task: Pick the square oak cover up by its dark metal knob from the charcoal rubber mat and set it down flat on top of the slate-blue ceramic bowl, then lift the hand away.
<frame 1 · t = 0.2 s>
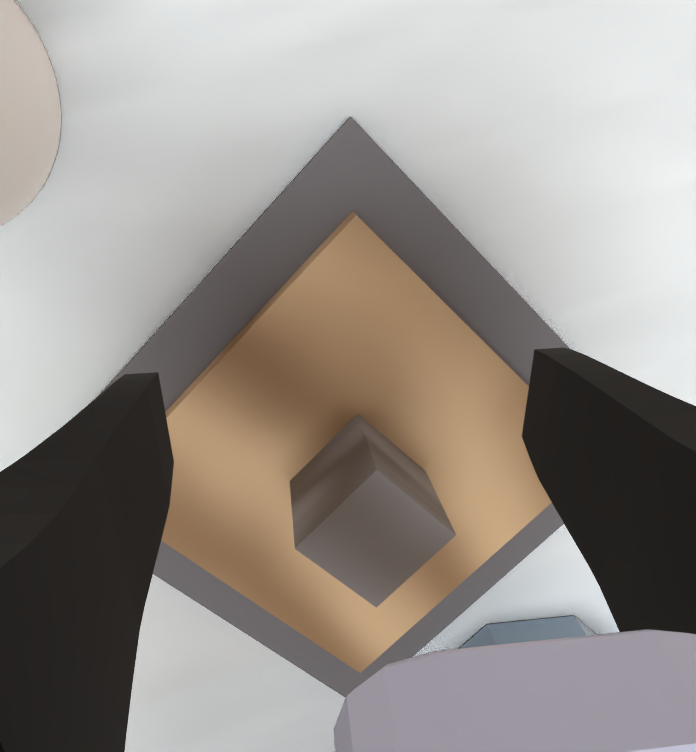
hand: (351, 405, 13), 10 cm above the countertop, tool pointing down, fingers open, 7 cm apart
bowl: (521, 702, 30), on the countertop
mat: (353, 457, 25), on the countertop
cover: (354, 462, 24), resting on mat
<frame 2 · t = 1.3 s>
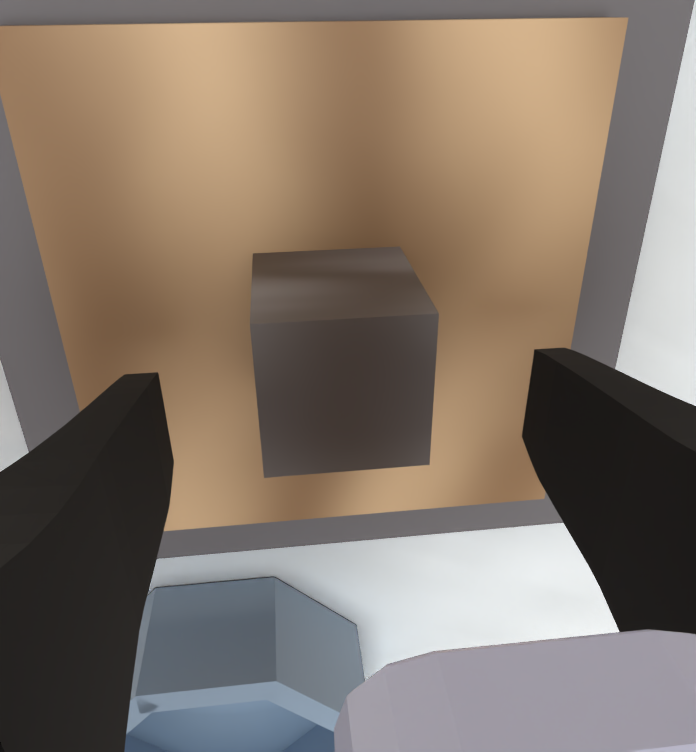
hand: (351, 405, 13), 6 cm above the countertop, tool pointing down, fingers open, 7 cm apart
bowl: (229, 674, 24), on the countertop
mat: (324, 296, 18), on the countertop
cover: (325, 302, 17), resting on mat
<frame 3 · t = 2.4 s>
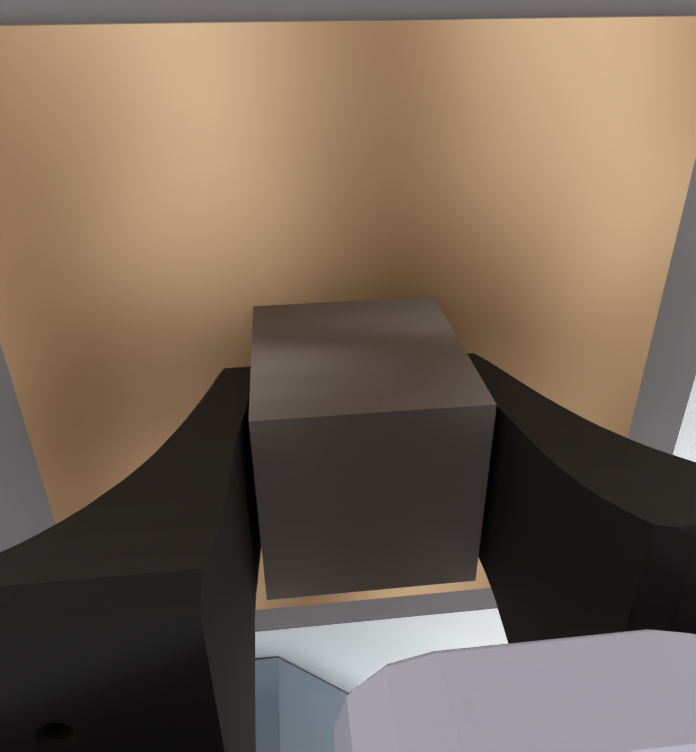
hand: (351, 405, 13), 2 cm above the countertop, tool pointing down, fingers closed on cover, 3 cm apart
mat: (339, 349, 15), on the countertop
cover: (341, 357, 14), resting on mat, touching gripper
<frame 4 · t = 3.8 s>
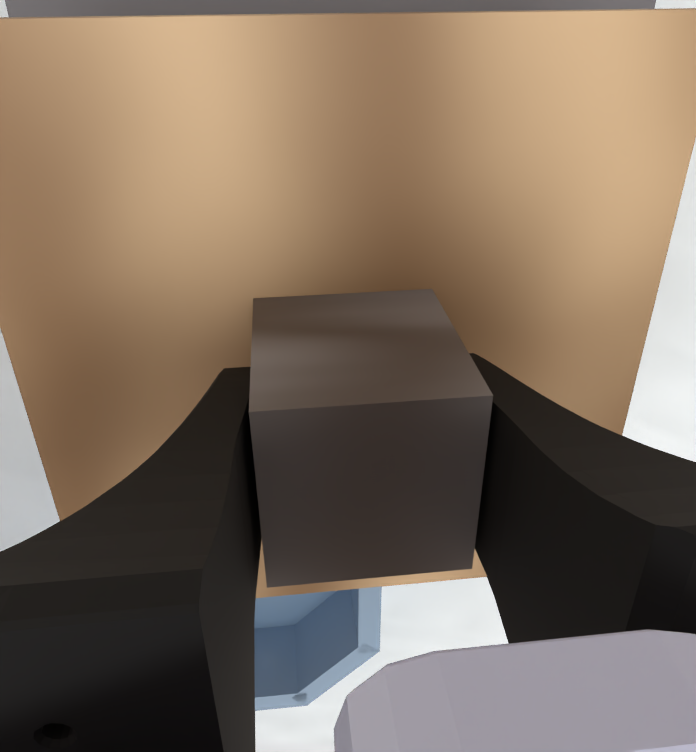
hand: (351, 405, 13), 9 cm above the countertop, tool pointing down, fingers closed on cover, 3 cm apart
bowl: (248, 545, 26), on the countertop
mat: (344, 159, 19), on the countertop
cover: (340, 349, 14), point 7 cm above the countertop, touching gripper
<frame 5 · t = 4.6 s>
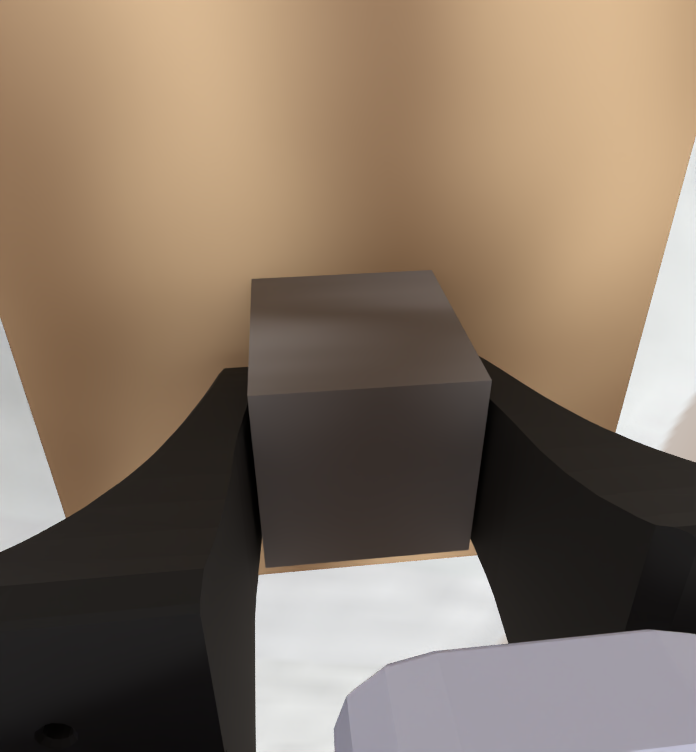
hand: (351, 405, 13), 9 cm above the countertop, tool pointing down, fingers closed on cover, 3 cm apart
cover: (338, 329, 14), point 7 cm above the countertop, touching gripper
when the fingers open (7 cm above the countertop, at t = 5.3 s): cover stays where it is, resting on bowl.
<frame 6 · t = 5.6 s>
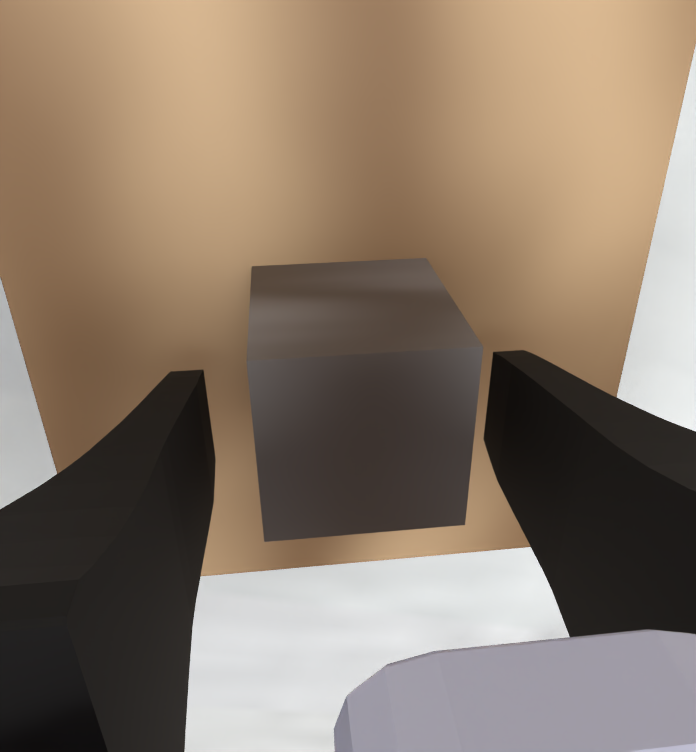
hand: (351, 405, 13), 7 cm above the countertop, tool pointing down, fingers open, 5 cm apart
cover: (336, 321, 15), point 4 cm above the countertop, touching bowl
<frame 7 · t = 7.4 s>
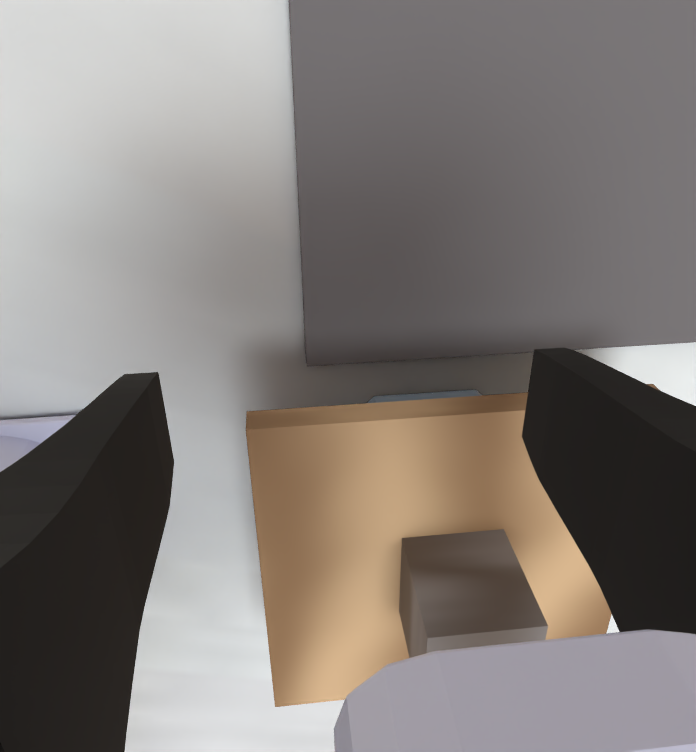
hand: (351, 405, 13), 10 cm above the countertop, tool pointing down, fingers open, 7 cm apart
bowl: (420, 491, 27), on the countertop
mat: (567, 104, 20), on the countertop
cover: (443, 550, 24), point 4 cm above the countertop, touching bowl
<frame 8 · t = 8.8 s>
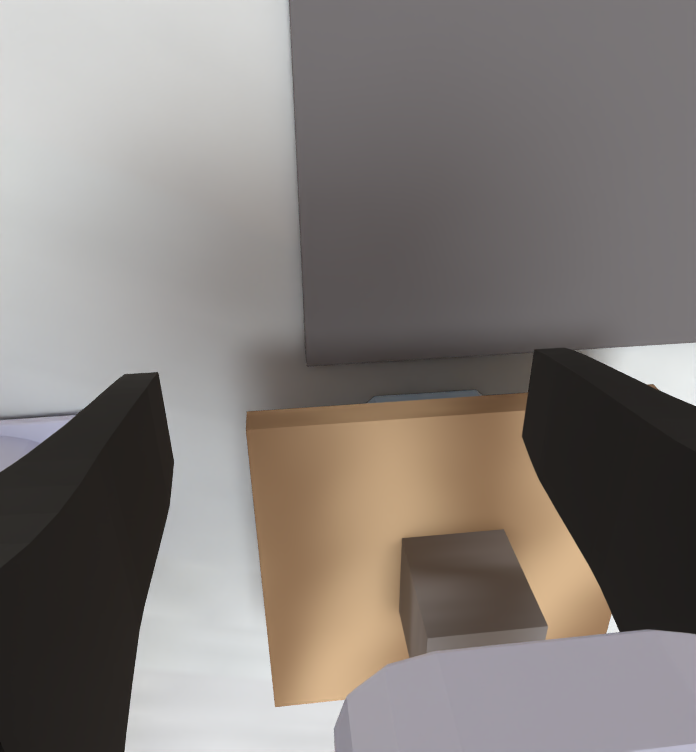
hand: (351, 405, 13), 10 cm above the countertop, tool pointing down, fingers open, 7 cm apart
bowl: (420, 491, 27), on the countertop
mat: (567, 104, 20), on the countertop
cover: (443, 550, 24), point 4 cm above the countertop, touching bowl
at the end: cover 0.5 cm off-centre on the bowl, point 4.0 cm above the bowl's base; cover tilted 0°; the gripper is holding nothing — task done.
